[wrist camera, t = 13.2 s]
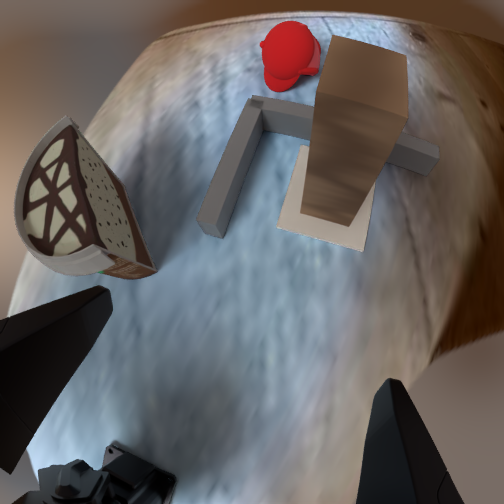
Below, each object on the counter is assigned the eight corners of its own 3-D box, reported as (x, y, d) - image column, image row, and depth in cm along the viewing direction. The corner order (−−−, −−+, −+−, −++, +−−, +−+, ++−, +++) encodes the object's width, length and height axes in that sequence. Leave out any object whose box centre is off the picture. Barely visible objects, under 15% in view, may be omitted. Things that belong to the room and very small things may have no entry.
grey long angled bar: (413, 292, 21) (430, 286, 18) (205, 233, 24) (195, 220, 21) (426, 163, 24) (439, 146, 21) (252, 116, 27) (249, 94, 24)
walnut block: (359, 174, 24) (406, 55, 12) (348, 227, 23) (408, 118, 10) (314, 161, 25) (332, 34, 12) (299, 213, 24) (315, 91, 11)
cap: (274, 25, 27) (244, 22, 23) (323, 21, 24) (299, 15, 20) (279, 87, 32) (251, 93, 28) (327, 89, 29) (305, 94, 25)
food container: (71, 206, 26) (7, 157, 17) (120, 174, 27) (65, 110, 17) (105, 321, 23) (21, 305, 13) (164, 288, 23) (96, 254, 14)
